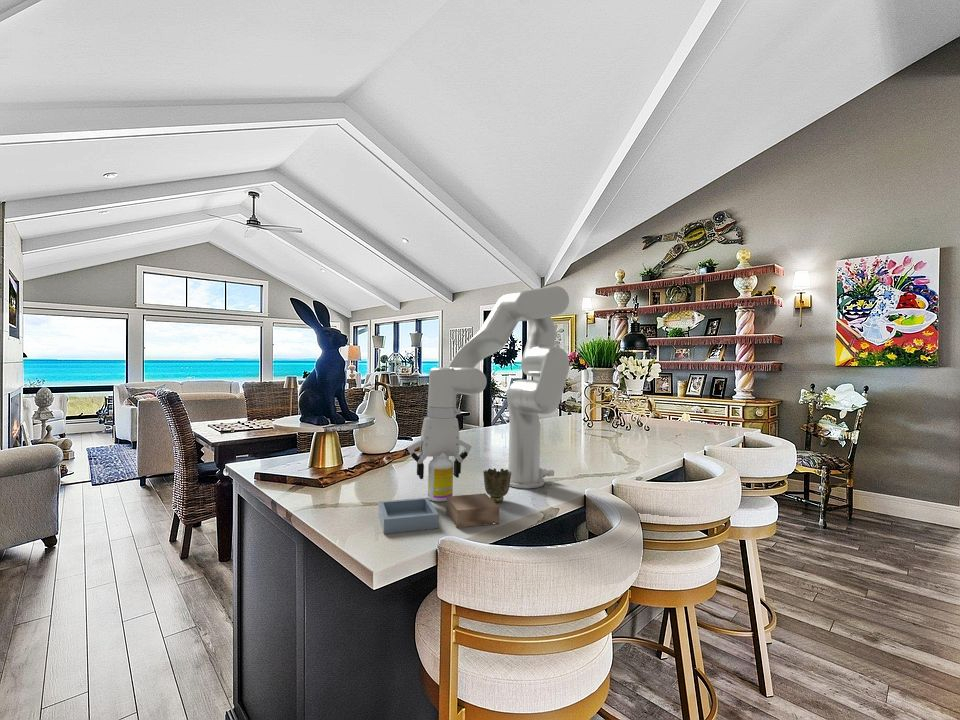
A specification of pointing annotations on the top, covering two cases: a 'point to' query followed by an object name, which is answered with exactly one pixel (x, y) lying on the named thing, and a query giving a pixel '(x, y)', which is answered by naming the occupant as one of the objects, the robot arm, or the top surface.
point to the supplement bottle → (440, 478)
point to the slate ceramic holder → (407, 515)
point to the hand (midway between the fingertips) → (438, 477)
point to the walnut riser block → (472, 510)
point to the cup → (497, 483)
